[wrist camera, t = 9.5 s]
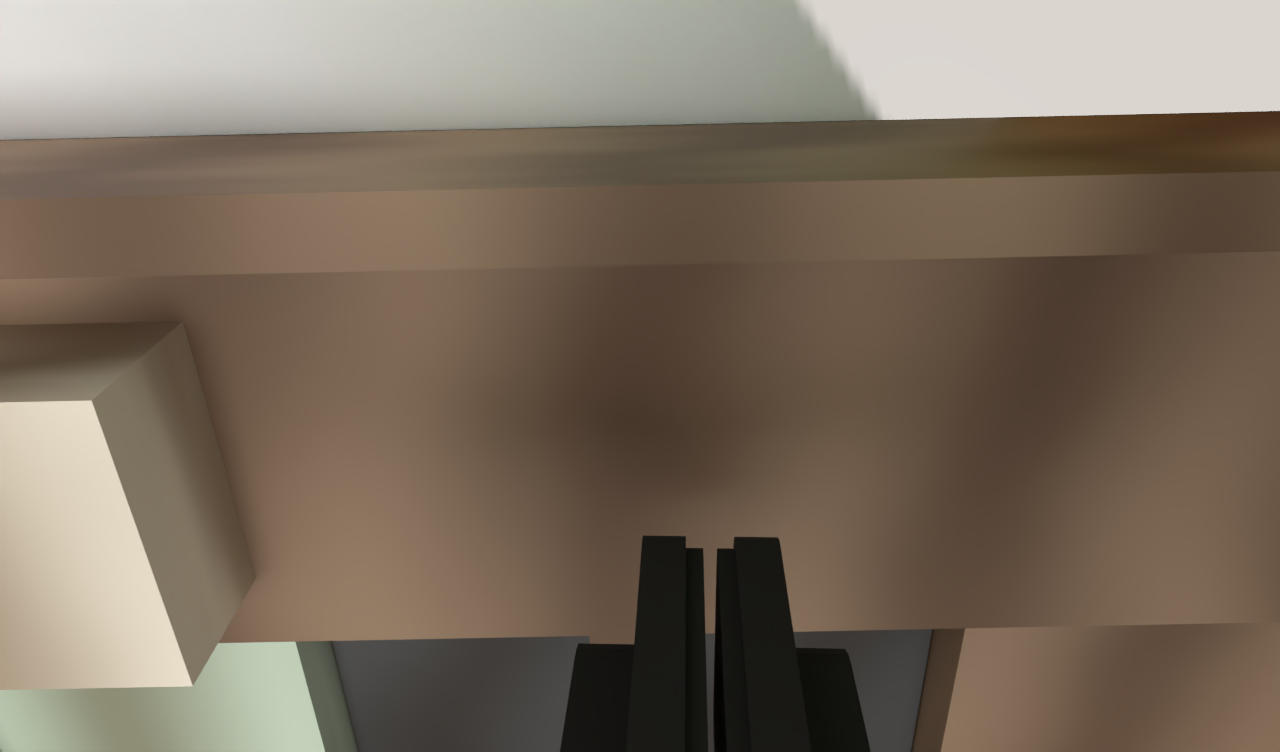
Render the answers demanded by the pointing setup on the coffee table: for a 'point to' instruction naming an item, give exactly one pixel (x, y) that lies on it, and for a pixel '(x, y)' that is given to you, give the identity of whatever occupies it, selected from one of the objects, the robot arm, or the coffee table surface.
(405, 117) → the coffee table surface
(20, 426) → the block
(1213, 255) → the box
